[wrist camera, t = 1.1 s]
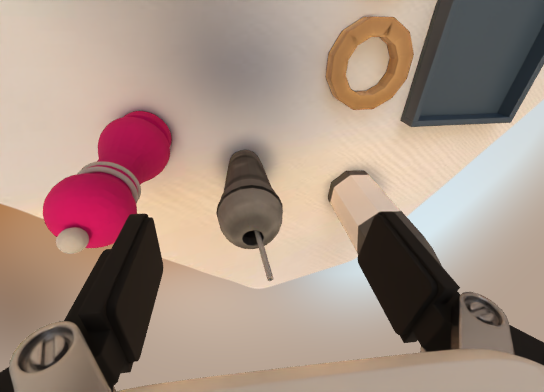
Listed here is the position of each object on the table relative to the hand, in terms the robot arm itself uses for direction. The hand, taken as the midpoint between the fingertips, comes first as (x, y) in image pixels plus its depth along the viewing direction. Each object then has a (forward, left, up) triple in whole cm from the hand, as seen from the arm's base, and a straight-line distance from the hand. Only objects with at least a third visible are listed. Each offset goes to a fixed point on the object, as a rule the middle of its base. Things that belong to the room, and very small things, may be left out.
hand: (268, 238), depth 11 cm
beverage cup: (+9, -4, -26) cm, 27 cm away
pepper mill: (-1, -13, -26) cm, 29 cm away
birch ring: (+4, +15, -26) cm, 30 cm away
